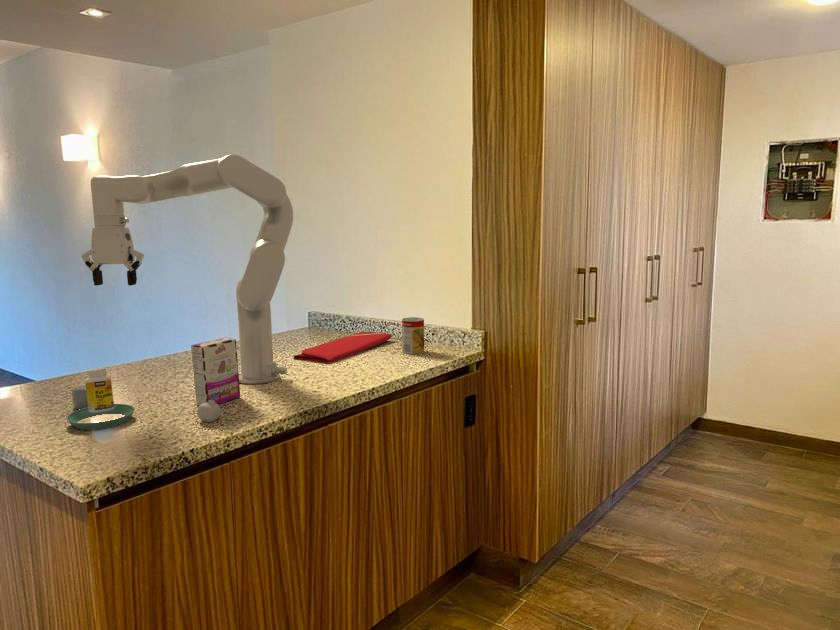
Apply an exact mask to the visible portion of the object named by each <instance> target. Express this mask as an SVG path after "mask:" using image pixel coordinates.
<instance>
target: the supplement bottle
mask: <svg viewBox="0 0 840 630" xmlns="http://www.w3.org/2000/svg"><path fill="white" fill-rule="evenodd" d="M107 374H108V372H107V368H106V367H101V368H94V369H88V370H87V376H88V378H86V379H85V381H84V383H85V384H84V385H86V392H87V401H88V410H89V412H90V413H100V412H106V411H110V410H112V409H114V404H115V401H114V394H113V393H114V392H113V384H112V377H111V376H110V375H107Z"/></svg>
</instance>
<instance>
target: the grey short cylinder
mask: <svg viewBox="0 0 840 630" xmlns="http://www.w3.org/2000/svg"><path fill="white" fill-rule="evenodd" d="M71 395H72V396H71V397H72V407H74V408H75V409H74V408H73V409H74V410H76V409H83V408H87V407H88V401H87V392H86V384H82V385H77V386H75V387H73V388H71Z"/></svg>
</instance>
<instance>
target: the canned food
mask: <svg viewBox="0 0 840 630" xmlns="http://www.w3.org/2000/svg"><path fill="white" fill-rule="evenodd" d="M401 338H402V339H401V341H402V342H401V345H402V346H401V347H402V349H401V350H402V354H405V355H409V356H410V355H421V354H424V353H425V319H424V318H423V317H418V316H417V317H415V316H414V317H413V316H411V317H404V318H402V319H401Z"/></svg>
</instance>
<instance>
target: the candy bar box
mask: <svg viewBox="0 0 840 630" xmlns="http://www.w3.org/2000/svg"><path fill="white" fill-rule="evenodd" d="M190 346H191V359H192V360H191V361H192V369H193V381H194V391H195V392H194V393H195V403H196V406H197V407H199V406H200V405H201V404H203V403H206V402H208V401H209V400H213V401H215V403H217V404H218V405H219V406H220V405H221V404H224V402H225V403H227V402H230V401H233V400H236V399H238V398H240V397H241V388H240V382H239V374H240V373H239V363H238V362H239V361H238V350H237V349H238V348H237V339H236V338H231V337H221V338H217V339H211V340H208V341H205V342H200V343H196V344H191V345H190Z"/></svg>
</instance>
